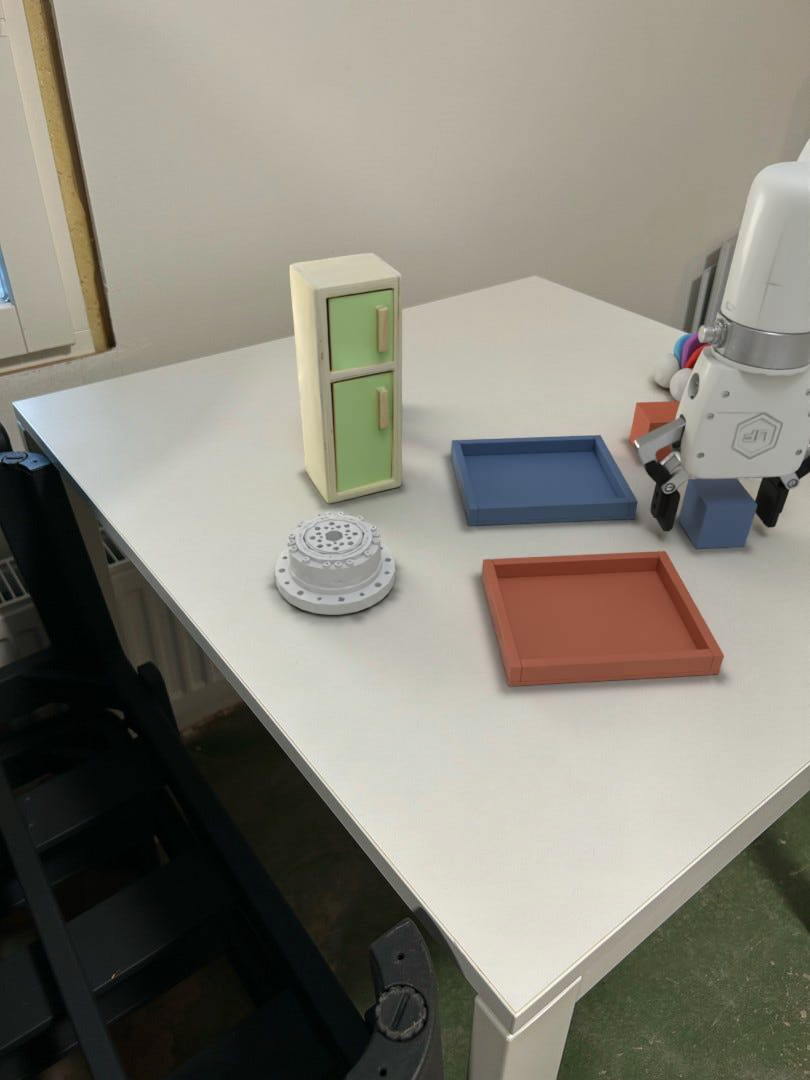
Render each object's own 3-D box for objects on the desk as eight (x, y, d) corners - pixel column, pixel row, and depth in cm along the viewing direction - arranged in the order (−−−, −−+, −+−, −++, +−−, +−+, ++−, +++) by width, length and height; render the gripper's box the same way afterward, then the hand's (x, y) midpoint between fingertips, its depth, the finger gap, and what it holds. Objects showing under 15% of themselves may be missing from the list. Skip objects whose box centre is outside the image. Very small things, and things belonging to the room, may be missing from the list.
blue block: (724, 517, 77) (736, 476, 74) (744, 546, 73) (758, 504, 71) (677, 519, 76) (688, 478, 74) (695, 549, 73) (707, 506, 70)
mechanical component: (404, 610, 66) (385, 538, 74) (405, 567, 63) (385, 496, 71) (279, 624, 65) (273, 548, 72) (274, 580, 62) (269, 507, 70)
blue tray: (597, 450, 87) (600, 434, 86) (634, 518, 77) (638, 501, 75) (450, 455, 86) (451, 439, 84) (468, 526, 75) (469, 508, 74)
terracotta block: (669, 438, 89) (678, 400, 86) (684, 460, 85) (694, 421, 83) (628, 440, 89) (636, 402, 86) (642, 461, 85) (650, 422, 82)
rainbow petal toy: (682, 414, 93) (695, 354, 89) (642, 378, 101) (653, 320, 97) (748, 406, 95) (765, 347, 91) (705, 371, 103) (718, 315, 98)
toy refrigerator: (328, 510, 77) (316, 289, 65) (303, 472, 83) (287, 261, 70) (405, 491, 80) (408, 276, 67) (376, 456, 85) (374, 250, 73)
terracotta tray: (661, 568, 71) (665, 550, 70) (718, 674, 61) (724, 655, 59) (481, 576, 70) (482, 558, 68) (508, 686, 59) (511, 667, 58)
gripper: (672, 361, 60) (631, 549, 70) (898, 356, 61) (825, 541, 72) (640, 322, 66) (606, 501, 76) (846, 318, 67) (786, 494, 78)
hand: (712, 520), depth 74 cm, fingers open, 9 cm apart
